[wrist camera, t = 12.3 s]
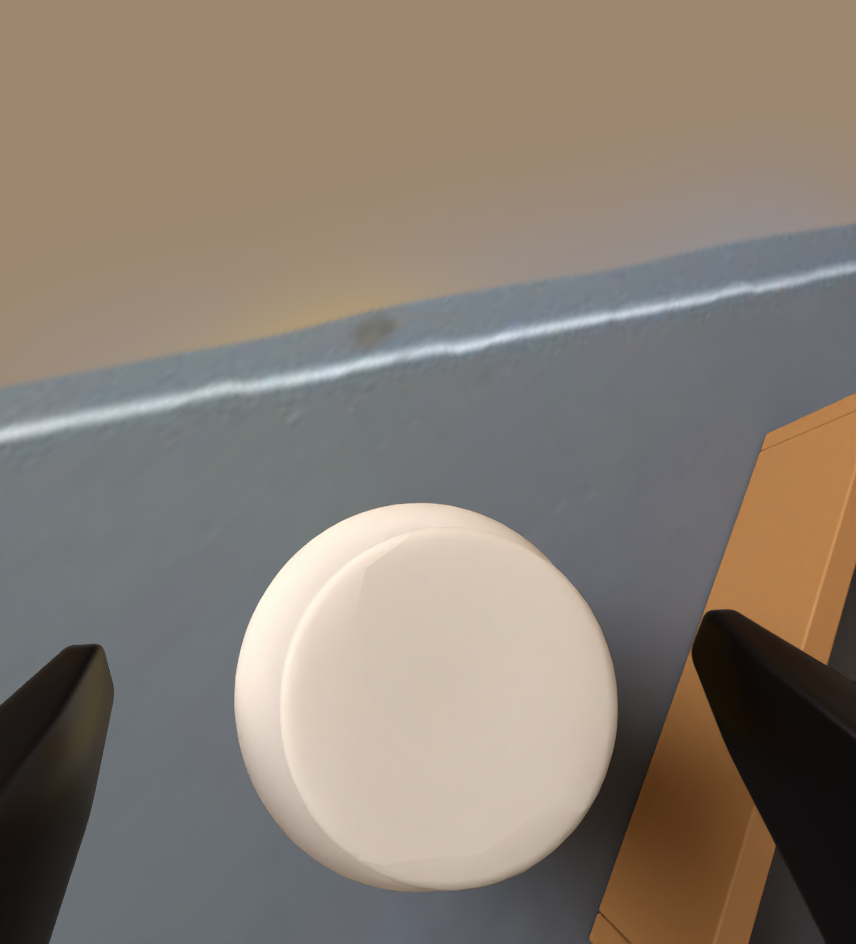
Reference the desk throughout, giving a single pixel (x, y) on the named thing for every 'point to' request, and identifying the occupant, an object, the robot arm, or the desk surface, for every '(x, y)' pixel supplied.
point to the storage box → (691, 719)
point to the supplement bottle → (425, 700)
